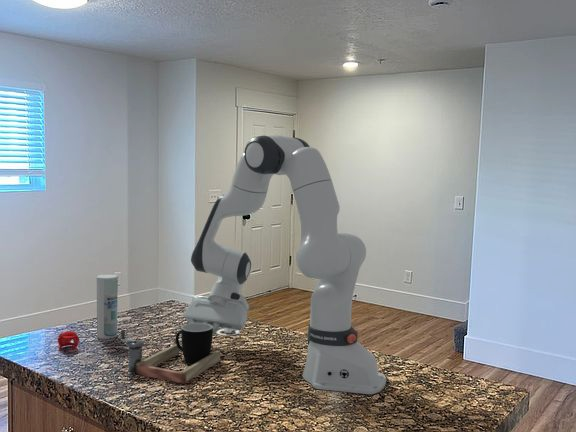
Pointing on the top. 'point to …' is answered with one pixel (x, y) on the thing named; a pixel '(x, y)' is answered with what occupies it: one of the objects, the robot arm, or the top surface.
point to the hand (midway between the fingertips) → (206, 337)
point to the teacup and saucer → (227, 331)
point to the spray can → (107, 306)
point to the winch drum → (133, 351)
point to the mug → (195, 341)
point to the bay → (149, 369)
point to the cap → (68, 339)
